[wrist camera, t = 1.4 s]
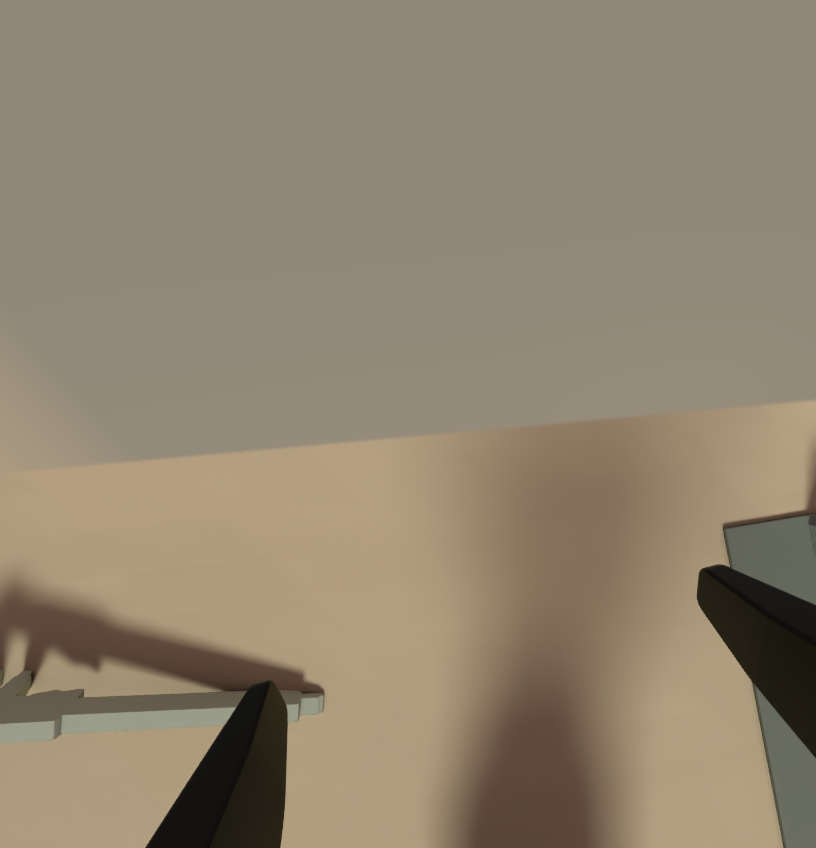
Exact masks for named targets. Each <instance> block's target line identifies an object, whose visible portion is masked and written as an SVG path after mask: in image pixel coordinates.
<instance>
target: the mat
mask: <svg viewBox="0 0 816 848" xmlns="http://www.w3.org/2000/svg"><path fill="white" fill-rule="evenodd" d="M815 523H816V513H813V514H807V515H801V516H795V517H789V518H783V519H777V520H771V521H764V522H758V523H752V524H746V525H740V526H734V527H728V528H723V530H724V536H725V541H726V546H727V551H728V557H729V562H730V567H731V568H732V569H734V570H737V571H739V572H741V573H744V574H746V575H748V576H751V577H753V578H755V579H758V580H760V581H762V582H764V583H767V584H769V585H771V586H774V587H776V588H778V589H781V590H783V591H785V592H787V593H790V594H792V595H794V596H797V597H799V598H801V599H804V600H806V601H808V602H810V603H813V604H815V605H816V562H815V557H814V552H813V547H812V542H811V537H810V531H809V526H808V525H809V524H815ZM753 687H754V693H755V698H756V703H757V708H758V714H759V719H760V724H761V729H762V735H763V740H764V745H765V750H766V755H767V761H768V766H769V771H770V776H771V782H772V787H773V792H774V797H775V803H776V808H777V813H778V818H779V824H780V829H781V834H782V839H783V844H784V848H816V758H815V757H814V756H813V755H812V753H811V752H810V751H809V750H808V749H807V747H806V746H805V745H804V744H803V743H802V741H801V740H800V739H799V738H798V737H797V735H796V734H795V733H794V732H793V731H792V729H791V728H790V727H789V726H788V725H787V723H786V722H785V721H784V720H783V719H782V717H781V716H780V715H779V714H778V713H777V711H776V710H775V709H774V708H773V707H772V705H771V704H770V703H769V702H768V701H767V699H766V698H765V697H764V696H763V694H762V693H761V692H760V691H759V690H758V688H757V687H756V686H755V685H754V683H753Z"/></svg>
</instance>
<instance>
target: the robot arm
mask: <svg viewBox="0 0 816 848" xmlns="http://www.w3.org/2000/svg"><path fill="white" fill-rule="evenodd" d="M697 600H698V604H699V606H700V608H701V609H702V611H703V612H704V614H705V615H706V617H707V618H708V620H709V621H710V622H711V624H712V625H713V627H714V628H715V630H716V631H717V632H718V634H719V635H720V637H721V638H722V640H723V641H724V642H725V644H726V645H727V647H728V648H729V650H730V651H731V652H732V654H733V655H734V657H735V658H736V660H737V661H738V662H739V664H740V665H741V667H742V668H743V670H744V671H745V672H746V674H747V675H748V676H749V678H750V679H751V681H752V682H753V683H754V685H755V686H756V687H757V688H758V690H759V691H760V692H761V693H762V694H763V696H764V697H765V698H766V699H767V701H768V702H769V703H770V704H771V705H772V707H773V708H774V709H775V710H776V711H777V713H778V714H779V715H780V716H781V717H782V719H783V720H784V721H785V722H786V723H787V725H788V726H789V727H790V728H791V729H792V731H793V732H794V733H795V734H796V735H797V737H798V738H799V739H800V740H801V741H802V743H803V744H804V745H805V746H806V747H807V749H808V750H809V751H810V752H811V753H812V755H813V756H814V757H815V758H816V605H815V604H813V603H810V602H808V601H806V600H804V599H801V598H799V597H797V596H794V595H792V594H790V593H787V592H785V591H783V590H781V589H778V588H776V587H774V586H771V585H769V584H767V583H764V582H762V581H760V580H758V579H755V578H753V577H751V576H748V575H746V574H744V573H741V572H739V571H737V570H734V569H732V568H730V567H728V566H725V565H713V566H710V567H706V568H703V569H701V570H700V572H699V578H698V588H697ZM287 727H288V711H287V706H286V703H285V701H284V699H283V697H282V695H281V693H280V691H279V689H278V687H277V685H276V684H275V682H274V681H273V680H271V679H268V680H264V681H260V682H256V683H254V684H252V685H251V686H250V687H249V688H248V690H247V691H246V693H245V694H244V696H243V697H242V699H241V701H240V702H239V704H238V705H237V707H236V708H235V710H234V711H233V713H232V714H231V716H230V718H229V719H228V721H227V722H226V724H225V725H224V727H223V728H222V730H221V731H220V733H219V735H218V736H217V738H216V739H215V741H214V742H213V744H212V745H211V747H210V748H209V750H208V752H207V753H206V755H205V756H204V758H203V759H202V761H201V762H200V764H199V765H198V767H197V769H196V770H195V772H194V773H193V775H192V776H191V778H190V779H189V781H188V782H187V784H186V786H185V787H184V789H183V790H182V792H181V793H180V795H179V796H178V798H177V799H176V801H175V803H174V804H173V806H172V807H171V809H170V810H169V812H168V813H167V815H166V817H165V818H164V820H163V821H162V823H161V824H160V826H159V827H158V829H157V830H156V832H155V834H154V835H153V837H152V838H151V840H150V841H149V843H148V844H147V846H146V847H145V848H280V846H281V838H282V830H283V821H284V810H285V794H286V761H287Z"/></svg>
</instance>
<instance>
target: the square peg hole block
mask: <svg viewBox="0 0 816 848" xmlns="http://www.w3.org/2000/svg"><path fill="white" fill-rule="evenodd" d="M808 526H809V531H810V537H811V542H812V547H813V552H814V557H815V562H816V523H815V524H809V525H808Z"/></svg>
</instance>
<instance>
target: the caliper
mask: <svg viewBox="0 0 816 848" xmlns="http://www.w3.org/2000/svg"><path fill="white" fill-rule="evenodd" d="M31 677H32V671H26V670H24V671H22V672H21V673H20V674H19V675H18V676H15V677H14V678H13V679H11V680H10V681H9V682H8V683H6V684H5V685H4V686H3V687H2V688H0V743H14V742H30V741H45V740H54V739H55V738H57V737H58V736H59V735H60V734H68V733H88V732H107V731H127V730H146V729H166V728H185V727H205V726H224V725H225V724H226V722H227V721H228V719H229V718H230V716H231V714H232V713H233V711H234V710H235V708H236V707H237V705H238V704H239V702H240V701H241V699H242V697H243V696H244V694H245V693H246V691H230V692H208V693H186V694H160V695H135V696H109V697H84V689H76V690H70V691H60V690H53V691H47V692H42V693H37V694H32V695H30V696H26V695H27V693H28V691H29V690H30V688H31ZM2 685H3V669H0V686H2ZM279 691H280V693H281V695H282V697H283V699H284V701H285V703H286V706H287V711H288V722H297V721H298V720H299V715H315V714H318V713H320V712H323V707H324V694H323V693H307V694H301V691H291V690H279Z"/></svg>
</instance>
